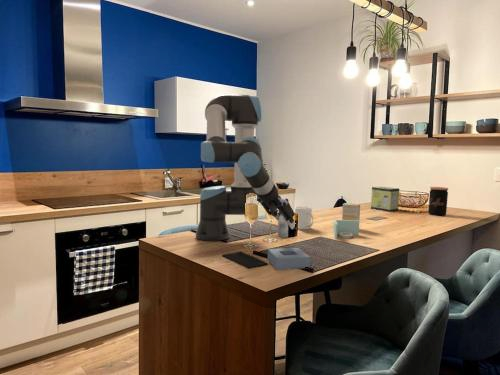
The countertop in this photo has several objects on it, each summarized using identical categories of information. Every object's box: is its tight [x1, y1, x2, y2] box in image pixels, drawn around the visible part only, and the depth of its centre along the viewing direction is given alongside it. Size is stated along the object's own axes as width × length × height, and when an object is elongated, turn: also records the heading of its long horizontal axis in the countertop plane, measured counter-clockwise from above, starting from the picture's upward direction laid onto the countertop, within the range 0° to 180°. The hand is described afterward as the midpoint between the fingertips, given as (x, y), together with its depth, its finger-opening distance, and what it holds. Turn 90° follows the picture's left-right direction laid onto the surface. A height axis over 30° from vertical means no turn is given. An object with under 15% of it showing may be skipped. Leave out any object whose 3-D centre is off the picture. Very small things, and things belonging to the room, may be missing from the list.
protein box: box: [370, 186, 400, 213], centre depth 267 cm, size 10×16×16 cm
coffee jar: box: [428, 186, 449, 217], centre depth 251 cm, size 11×11×18 cm
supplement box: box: [341, 202, 361, 222], centre depth 203 cm, size 8×5×13 cm, turn 57°
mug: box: [294, 206, 314, 230], centre depth 199 cm, size 9×12×11 cm
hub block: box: [267, 247, 311, 270], centre depth 139 cm, size 12×12×4 cm
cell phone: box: [221, 251, 269, 270], centre depth 142 cm, size 9×18×1 cm, turn 36°
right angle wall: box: [333, 219, 360, 240], centre depth 184 cm, size 12×12×8 cm
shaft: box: [277, 211, 289, 238], centre depth 151 cm, size 4×4×13 cm
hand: (288, 225), depth 154 cm, fingers closed on shaft, 4 cm apart
